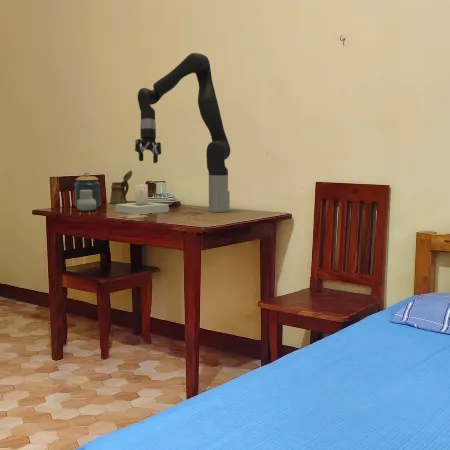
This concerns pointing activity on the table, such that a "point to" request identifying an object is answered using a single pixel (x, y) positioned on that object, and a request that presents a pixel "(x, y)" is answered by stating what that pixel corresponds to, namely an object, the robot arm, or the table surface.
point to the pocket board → (142, 208)
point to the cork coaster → (133, 216)
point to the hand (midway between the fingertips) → (148, 161)
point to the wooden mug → (120, 190)
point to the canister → (87, 187)
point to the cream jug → (141, 194)
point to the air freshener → (86, 201)
